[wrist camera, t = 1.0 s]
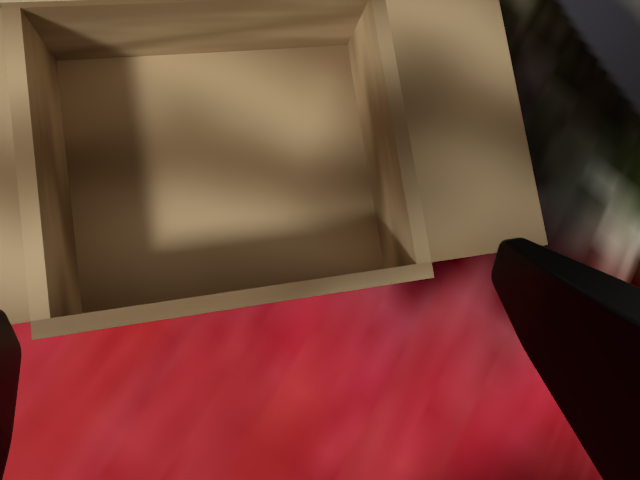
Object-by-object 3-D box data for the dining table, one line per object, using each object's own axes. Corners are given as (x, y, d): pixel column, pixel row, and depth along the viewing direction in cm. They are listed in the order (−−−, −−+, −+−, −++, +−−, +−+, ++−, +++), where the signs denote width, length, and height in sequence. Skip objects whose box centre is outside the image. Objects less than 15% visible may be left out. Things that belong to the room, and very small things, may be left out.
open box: (492, 267, 25) (550, 259, 20) (-65, 354, 20) (-148, 367, 15) (448, 34, 26) (494, -22, 21) (-87, 61, 21) (-169, -4, 17)
